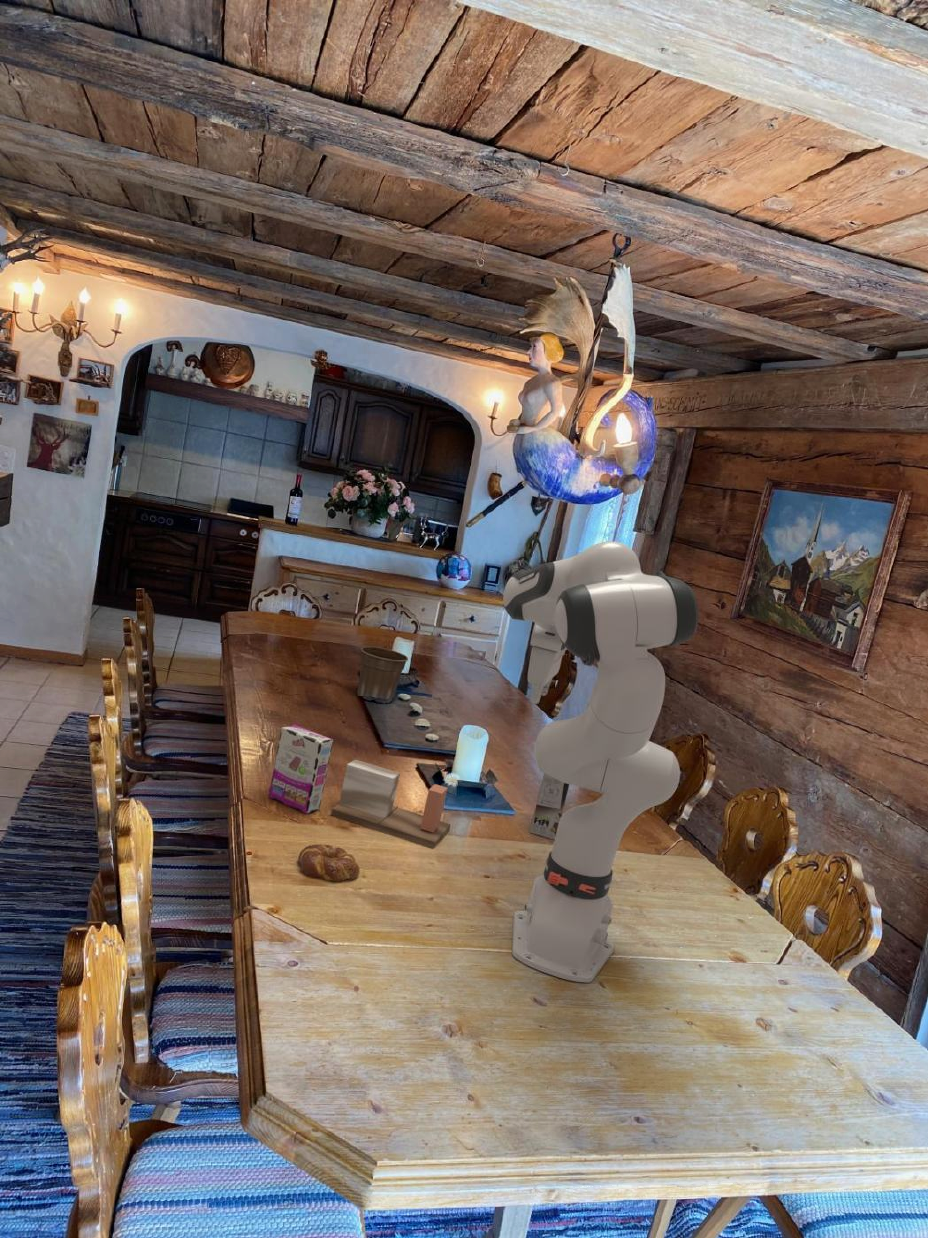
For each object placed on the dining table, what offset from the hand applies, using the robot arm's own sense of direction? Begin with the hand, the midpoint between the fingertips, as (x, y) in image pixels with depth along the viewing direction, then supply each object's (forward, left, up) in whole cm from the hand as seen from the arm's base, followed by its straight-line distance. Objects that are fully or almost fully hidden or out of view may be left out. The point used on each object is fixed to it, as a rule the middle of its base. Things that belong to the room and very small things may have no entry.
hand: (538, 698), depth 183 cm
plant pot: (+91, +66, -35) cm, 118 cm away
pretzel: (-33, +27, -36) cm, 56 cm away
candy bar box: (-10, +46, -35) cm, 59 cm away
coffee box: (+20, -6, -35) cm, 41 cm away
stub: (-4, +16, -33) cm, 37 cm away
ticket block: (-4, +26, -35) cm, 44 cm away
